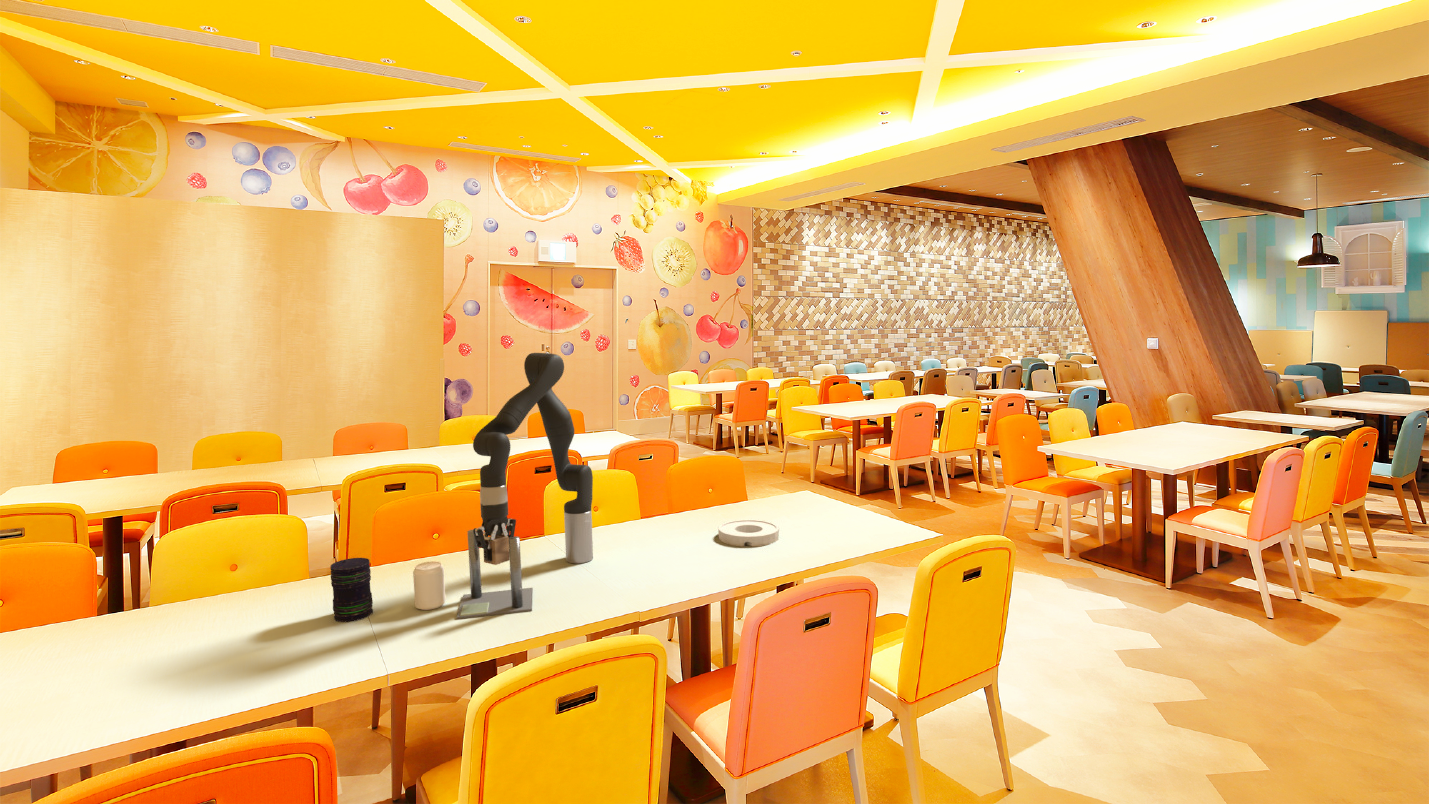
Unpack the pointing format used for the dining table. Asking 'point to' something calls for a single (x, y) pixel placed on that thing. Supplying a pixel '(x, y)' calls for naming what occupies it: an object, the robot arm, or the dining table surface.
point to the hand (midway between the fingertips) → (496, 558)
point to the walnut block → (499, 550)
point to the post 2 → (515, 572)
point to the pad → (476, 607)
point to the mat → (495, 603)
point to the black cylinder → (351, 589)
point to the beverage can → (429, 585)
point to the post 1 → (474, 566)
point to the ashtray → (748, 532)
